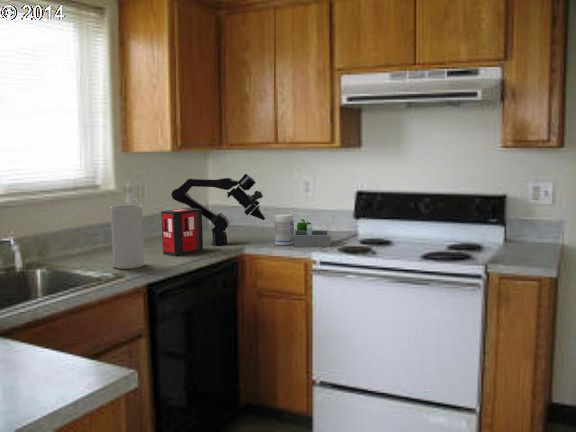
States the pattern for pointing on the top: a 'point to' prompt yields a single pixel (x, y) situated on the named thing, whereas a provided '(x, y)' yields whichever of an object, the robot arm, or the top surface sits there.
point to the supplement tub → (284, 229)
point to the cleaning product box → (182, 231)
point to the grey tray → (312, 239)
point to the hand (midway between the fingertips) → (264, 219)
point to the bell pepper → (302, 225)
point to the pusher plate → (309, 229)
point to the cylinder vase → (127, 236)
